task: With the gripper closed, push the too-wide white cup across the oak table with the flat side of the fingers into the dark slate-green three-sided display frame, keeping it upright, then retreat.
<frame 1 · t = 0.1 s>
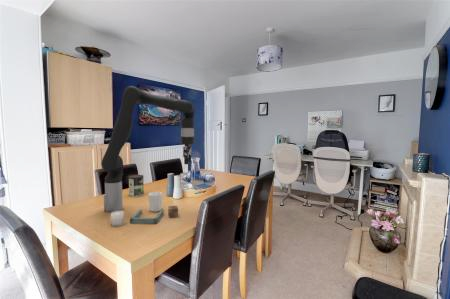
hand: (187, 163, 131), 29 cm above the table, fingers open, 8 cm apart
walnut block: (173, 215, 126), on the table
display frame: (148, 218, 122), on the table
coffee can: (136, 194, 165), on the table
white rounded block: (117, 223, 115), on the table
white cup: (155, 209, 135), on the table
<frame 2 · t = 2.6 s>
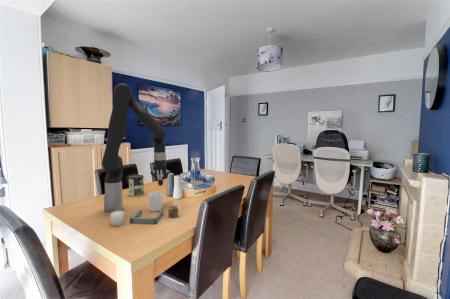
hand: (160, 185, 144), 12 cm above the table, fingers closed
nothing on the table moved.
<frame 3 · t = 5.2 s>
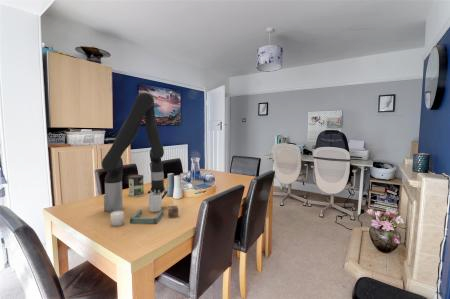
hand: (158, 205, 139), 1 cm above the table, fingers closed
white cup: (155, 210, 135), on the table, touching gripper
everything else where it was.
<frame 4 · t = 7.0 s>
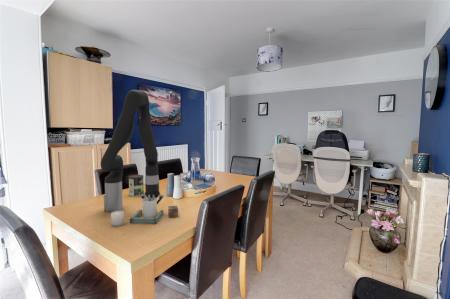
hand: (152, 211, 130), 1 cm above the table, fingers closed
white cup: (150, 216, 125), on the table, touching gripper
everything else where it was.
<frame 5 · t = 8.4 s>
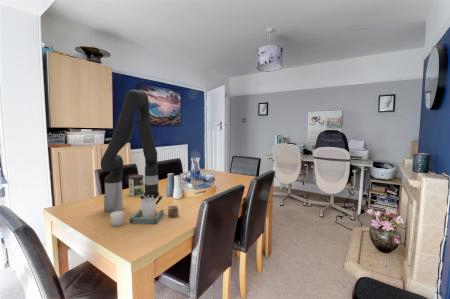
hand: (151, 211, 129), 1 cm above the table, fingers closed
white cup: (149, 217, 123), on the table
everything else where it was.
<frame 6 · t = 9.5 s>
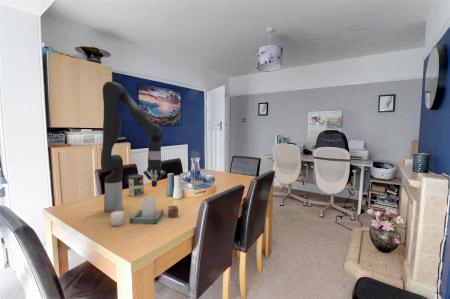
hand: (154, 186, 133), 15 cm above the table, fingers closed
nothing on the table moved.
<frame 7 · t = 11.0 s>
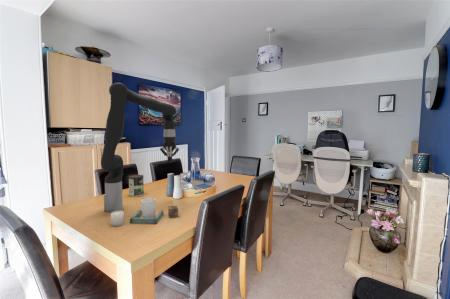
hand: (169, 162, 147), 27 cm above the table, fingers closed
nothing on the table moved.
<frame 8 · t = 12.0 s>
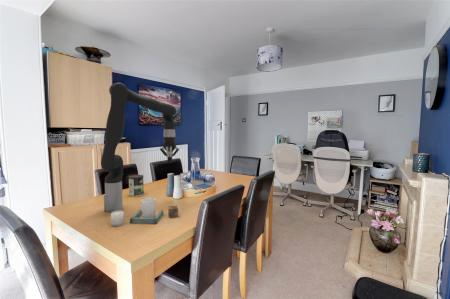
hand: (169, 162, 148), 27 cm above the table, fingers closed
nothing on the table moved.
at the end: white cup inside the target area on the display frame (1.0 cm from its centre), point 0.0 cm above the display frame's base; white cup tilted 0° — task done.
